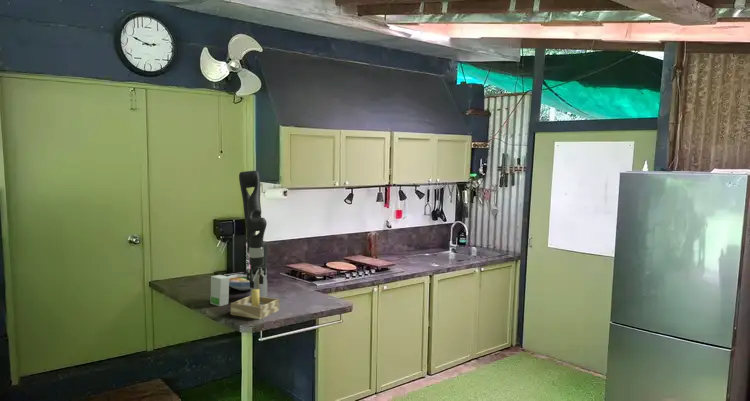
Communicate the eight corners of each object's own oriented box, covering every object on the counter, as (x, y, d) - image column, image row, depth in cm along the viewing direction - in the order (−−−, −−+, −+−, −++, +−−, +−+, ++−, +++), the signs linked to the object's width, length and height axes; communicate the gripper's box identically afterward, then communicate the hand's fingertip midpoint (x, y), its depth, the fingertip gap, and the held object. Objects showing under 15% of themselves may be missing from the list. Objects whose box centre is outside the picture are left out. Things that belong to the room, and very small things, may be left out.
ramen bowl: (215, 290, 319) (215, 277, 318) (241, 283, 339) (241, 270, 338) (246, 296, 307) (246, 282, 306) (271, 288, 327) (271, 275, 327)
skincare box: (210, 304, 289) (209, 276, 288) (219, 301, 295) (219, 274, 293) (220, 306, 284) (220, 278, 283) (229, 303, 290) (229, 276, 289)
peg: (254, 310, 278) (254, 288, 277) (260, 311, 276) (260, 289, 275) (250, 312, 274) (250, 290, 273) (256, 313, 272) (256, 291, 271)
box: (251, 306, 286) (251, 295, 286) (279, 310, 280) (279, 299, 279) (230, 314, 270) (230, 303, 269) (260, 319, 263) (260, 307, 263)
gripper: (258, 252, 280) (258, 282, 282) (242, 257, 267) (242, 288, 269) (270, 253, 278) (270, 283, 279) (254, 258, 265) (255, 290, 266)
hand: (256, 285), depth 274 cm, fingers open, 8 cm apart
